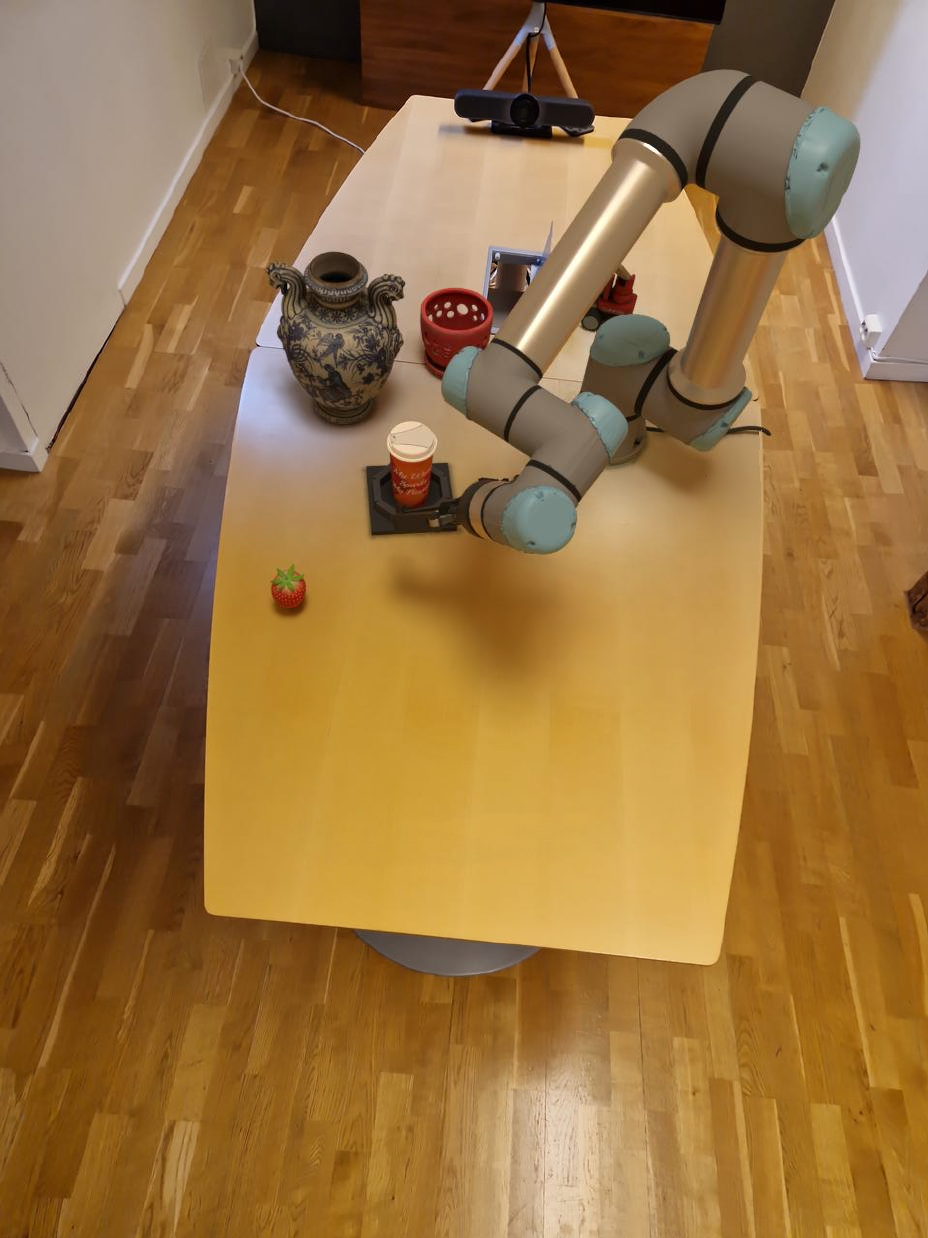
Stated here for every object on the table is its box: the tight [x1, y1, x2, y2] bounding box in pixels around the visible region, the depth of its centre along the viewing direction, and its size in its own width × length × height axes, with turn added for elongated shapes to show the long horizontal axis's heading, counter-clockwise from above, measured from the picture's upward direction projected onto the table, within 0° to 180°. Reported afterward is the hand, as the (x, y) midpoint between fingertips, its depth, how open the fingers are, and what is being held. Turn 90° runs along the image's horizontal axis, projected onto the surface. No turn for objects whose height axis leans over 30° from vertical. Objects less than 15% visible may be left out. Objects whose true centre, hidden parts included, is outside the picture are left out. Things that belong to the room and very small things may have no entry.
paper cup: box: [386, 420, 438, 509], centre depth 130 cm, size 8×8×14 cm
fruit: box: [270, 563, 307, 608], centre depth 122 cm, size 5×5×8 cm
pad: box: [365, 462, 458, 536], centre depth 136 cm, size 14×14×3 cm
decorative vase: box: [265, 251, 406, 425], centre depth 135 cm, size 21×19×28 cm
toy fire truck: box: [580, 263, 638, 332], centre depth 156 cm, size 11×16×18 cm
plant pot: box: [419, 287, 494, 378], centre depth 150 cm, size 13×13×12 cm
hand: (441, 499), depth 122 cm, fingers open, 13 cm apart
